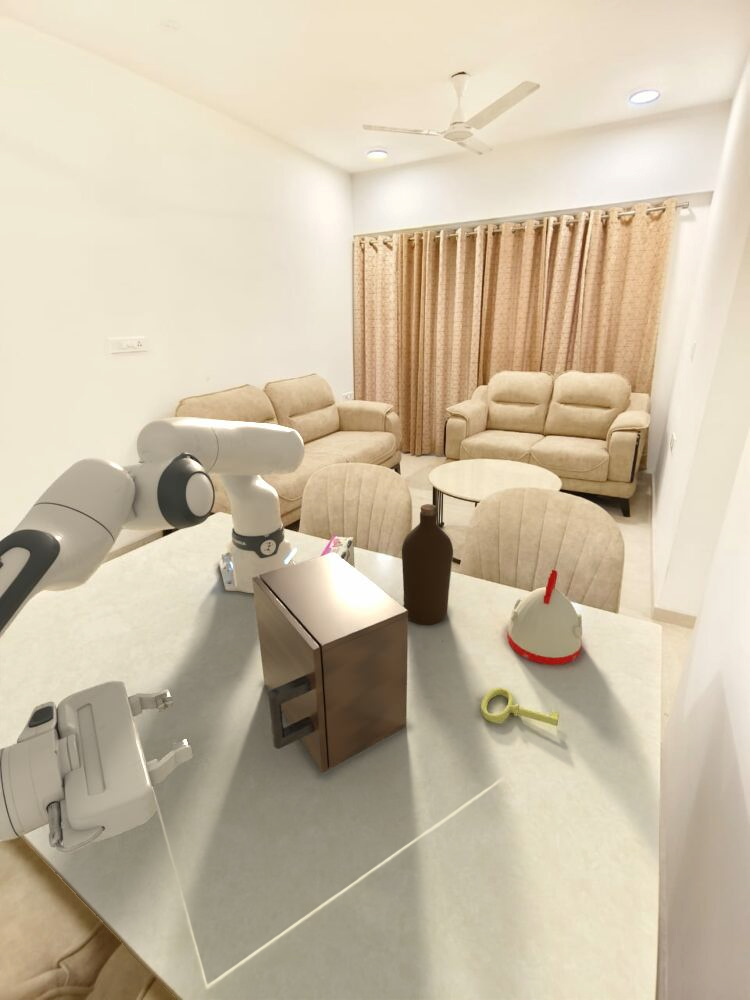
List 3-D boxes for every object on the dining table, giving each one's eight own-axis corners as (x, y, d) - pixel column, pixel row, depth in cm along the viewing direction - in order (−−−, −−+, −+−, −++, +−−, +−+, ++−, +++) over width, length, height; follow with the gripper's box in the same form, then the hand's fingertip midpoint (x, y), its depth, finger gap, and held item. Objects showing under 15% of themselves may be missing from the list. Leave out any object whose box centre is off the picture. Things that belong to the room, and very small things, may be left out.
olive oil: (411, 631, 103) (413, 520, 94) (394, 603, 113) (394, 500, 103) (458, 621, 106) (464, 513, 97) (437, 595, 116) (441, 494, 106)
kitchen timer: (585, 632, 102) (596, 568, 97) (574, 673, 91) (586, 603, 85) (516, 614, 108) (523, 552, 103) (499, 650, 97) (505, 583, 92)
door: (284, 793, 69) (270, 667, 61) (232, 696, 86) (216, 588, 78) (328, 769, 73) (320, 647, 65) (269, 681, 90) (257, 576, 82)
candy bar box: (335, 599, 115) (332, 535, 108) (356, 601, 114) (354, 536, 108) (321, 628, 104) (316, 559, 98) (344, 631, 103) (341, 561, 97)
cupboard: (329, 769, 73) (321, 645, 65) (270, 681, 90) (259, 574, 82) (406, 727, 80) (408, 610, 72) (338, 652, 97) (333, 552, 89)
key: (560, 733, 78) (562, 722, 78) (480, 721, 81) (481, 711, 80) (554, 699, 85) (556, 690, 84) (480, 690, 87) (481, 680, 87)
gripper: (41, 836, 44) (200, 762, 51) (36, 696, 60) (158, 654, 67) (58, 883, 46) (208, 806, 53) (49, 736, 62) (165, 692, 69)
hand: (180, 720), depth 60 cm, fingers open, 8 cm apart
